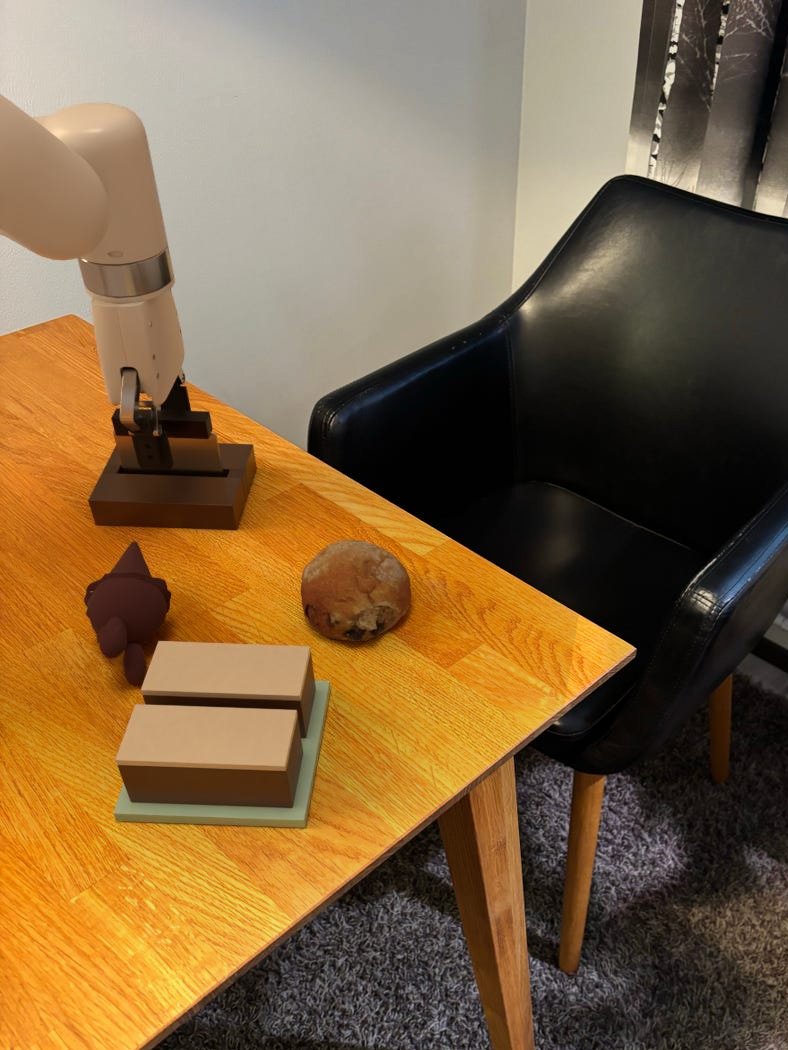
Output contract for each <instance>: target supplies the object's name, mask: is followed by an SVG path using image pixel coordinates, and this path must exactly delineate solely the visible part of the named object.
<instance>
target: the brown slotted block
mask: <svg viewBox="0 0 788 1050" xmlns="http://www.w3.org/2000/svg"><path fill="white" fill-rule="evenodd" d="M218 445H219V450H220V455H221V461H222V466H223V471H224V477H199V476H171V475H143V474H124V471H123V468H122V464H121V460H120V456H119V453H118V449H117V445H116V444H115V446H114V448H113V449H112V452H111V454H110V456H109V458H108V460H107V462H106V464H105V466H104V468H103V469H102V472H101V473H100V476H99V477H98V480H97V482H96V484H95V485H94V488H93V490H92V492H91V493H90V496H89V498H88V499H87V502H88V506H89V509H90V512H91V515H92V519H93V522H94V525H96V526H119V527H120V526H121V527H147V528H175V529H176V528H177V529H200V530H201V529H202V530H203V529H204V530H207V529H208V530H229V531H230V530H233V531H237V530H238V527H239V525H240V521H241V519H242V516H243V515H242V514H243V512H244V509H245V506H246V502H247V499H248V496H249V493H250V491H251V488H252V484H253V481H254V477H255V475H256V472H257V469H258V468H257V461H256V454H255V448H254V444H252V443H229V442H223V443H222V442H218Z"/></svg>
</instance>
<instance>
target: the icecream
mask: <svg viewBox="0 0 788 1050" xmlns="http://www.w3.org/2000/svg"><path fill="white" fill-rule="evenodd" d="M172 596H173V594H172V592H171V591H170V590H169V589H168V584H167V582H166V580H165V579H163V578H161V577H155V576H152V574H151V571H150V569H149V566H148V564H147V562H146V559H145V557H144V554H143V552H142V549H141V548H140V545H139V543H138V541H133V540H132V541H131V543H130V544H129V545H128V546H127V547H126V549H125V550H124V552H123V553H122V554H121V555H120V558H119V559H118V560H117V562H116V563H115V565H114V566H113V567H112V569H111V570H110V571H109V572H108V573H104V574H103V576H101V578H100V579H97V580H95V581H93V582H91V583H89V584H88V585H87V587H86V590H85V596H84V597H83V603H84V605H85V607H86V608H87V609H86V611H85V615H86V617H87V618H88V619H89V622H90V625H91V628H92V629H93V631H94V634H96V640H97V644H99V650H100V652H101V654H102V656H104V657H105V658H107V659H110V660H112V659H117V658H119V656H121V654H123V658H122V659H123V660H122V667H123V673H124V674H123V675H124V678H125V680H126V682H127V684H128V685H130V686H138V685H139V684H140V683H141V682H142V681H143V680H144V679H145V676H146V672H147V663H146V656H145V655H146V654H145V651H144V649H143V646H142V645H144V644H147V643H149V642H150V641H151V640H152V639H153V638H154V636H155V635H156V634H157V633H158V632H159V631H160V629H161V628H162V627H163V626H164V624H165V623H166V619H167V616H168V615H167V614H168V613H169V611H170V610H171V599H172Z"/></svg>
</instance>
